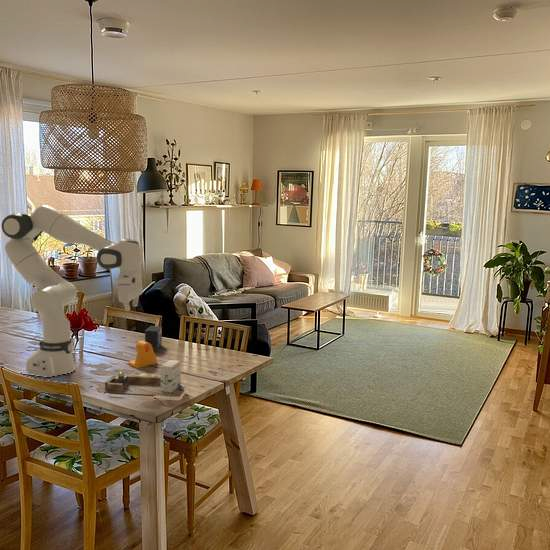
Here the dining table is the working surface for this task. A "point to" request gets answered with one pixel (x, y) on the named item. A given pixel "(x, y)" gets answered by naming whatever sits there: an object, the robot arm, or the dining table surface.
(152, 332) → the small box
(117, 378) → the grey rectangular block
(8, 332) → the dining table surface
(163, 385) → the ink box
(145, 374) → the tan square plate
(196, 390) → the dining table surface
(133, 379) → the open box
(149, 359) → the bracket
